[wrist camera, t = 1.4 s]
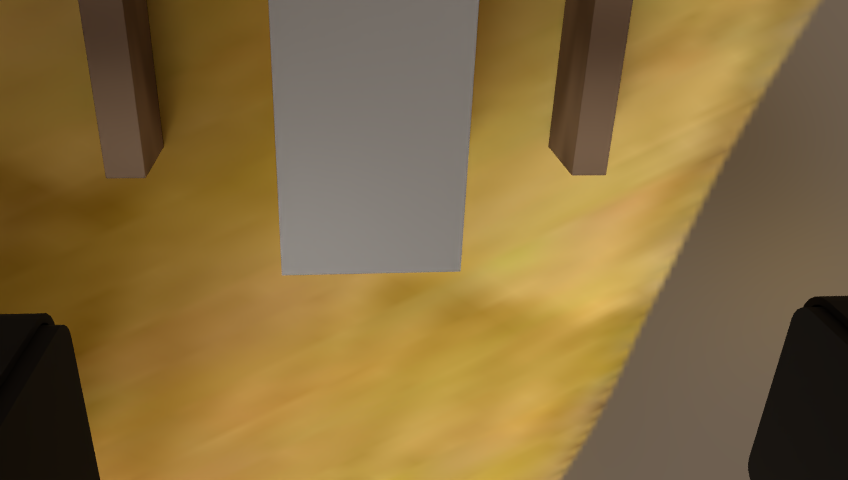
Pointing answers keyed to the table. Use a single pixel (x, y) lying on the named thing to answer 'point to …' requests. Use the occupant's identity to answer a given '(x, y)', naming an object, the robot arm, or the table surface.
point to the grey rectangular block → (372, 132)
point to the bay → (139, 110)
